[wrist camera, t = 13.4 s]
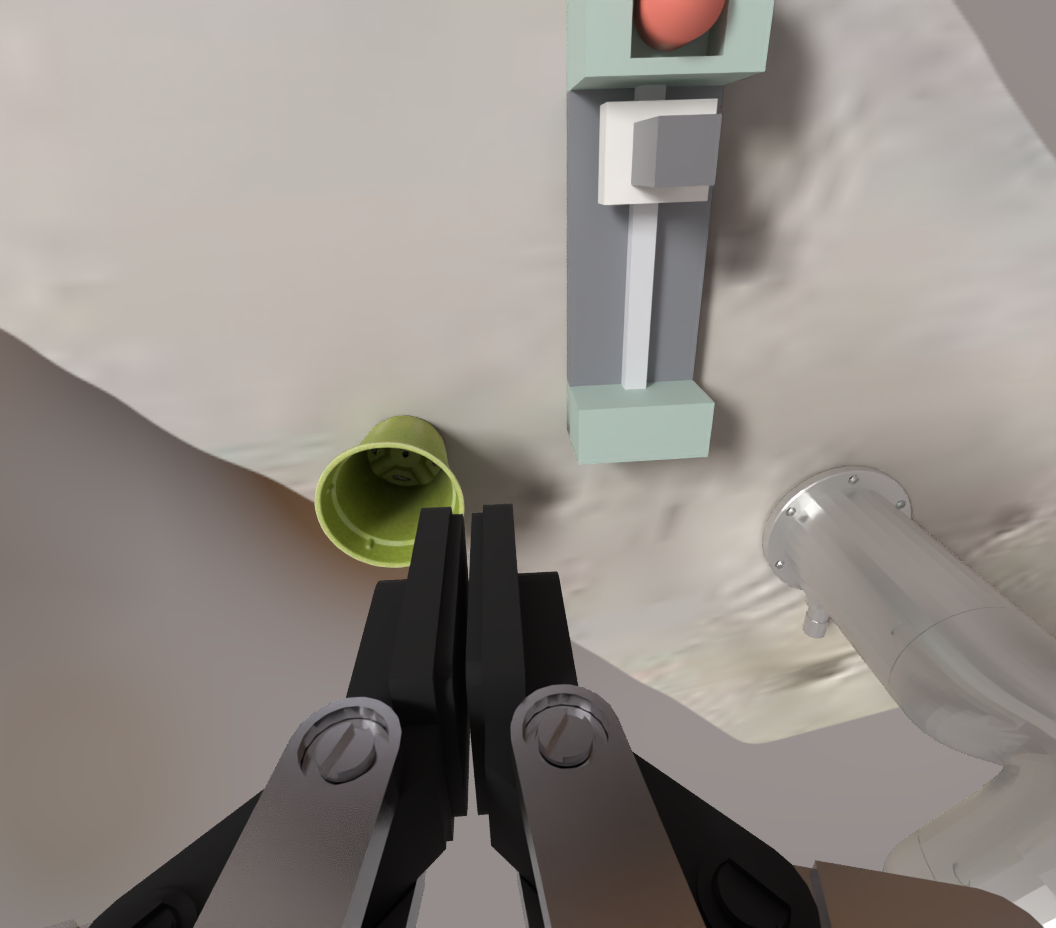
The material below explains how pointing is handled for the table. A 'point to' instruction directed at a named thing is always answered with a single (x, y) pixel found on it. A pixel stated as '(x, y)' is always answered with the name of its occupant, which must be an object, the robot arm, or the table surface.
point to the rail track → (640, 239)
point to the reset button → (674, 21)
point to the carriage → (657, 151)
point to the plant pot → (386, 491)
